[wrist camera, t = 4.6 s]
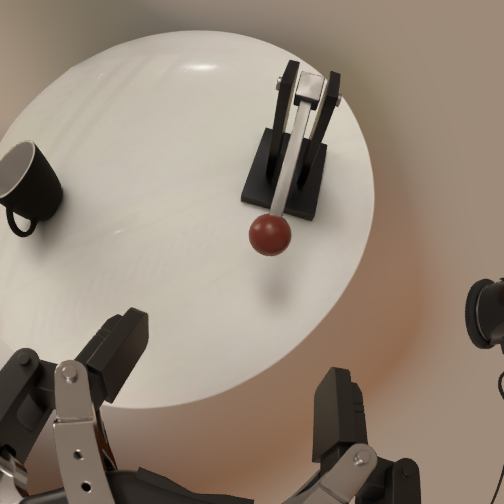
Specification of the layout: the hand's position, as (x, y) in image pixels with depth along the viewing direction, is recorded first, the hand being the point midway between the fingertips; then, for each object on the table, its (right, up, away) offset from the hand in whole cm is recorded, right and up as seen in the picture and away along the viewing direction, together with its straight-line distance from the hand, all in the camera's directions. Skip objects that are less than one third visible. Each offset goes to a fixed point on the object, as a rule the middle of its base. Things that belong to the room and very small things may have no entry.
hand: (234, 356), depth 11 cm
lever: (+4, +12, +14) cm, 19 cm away
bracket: (+5, +15, +24) cm, 29 cm away
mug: (-30, +10, +21) cm, 38 cm away
